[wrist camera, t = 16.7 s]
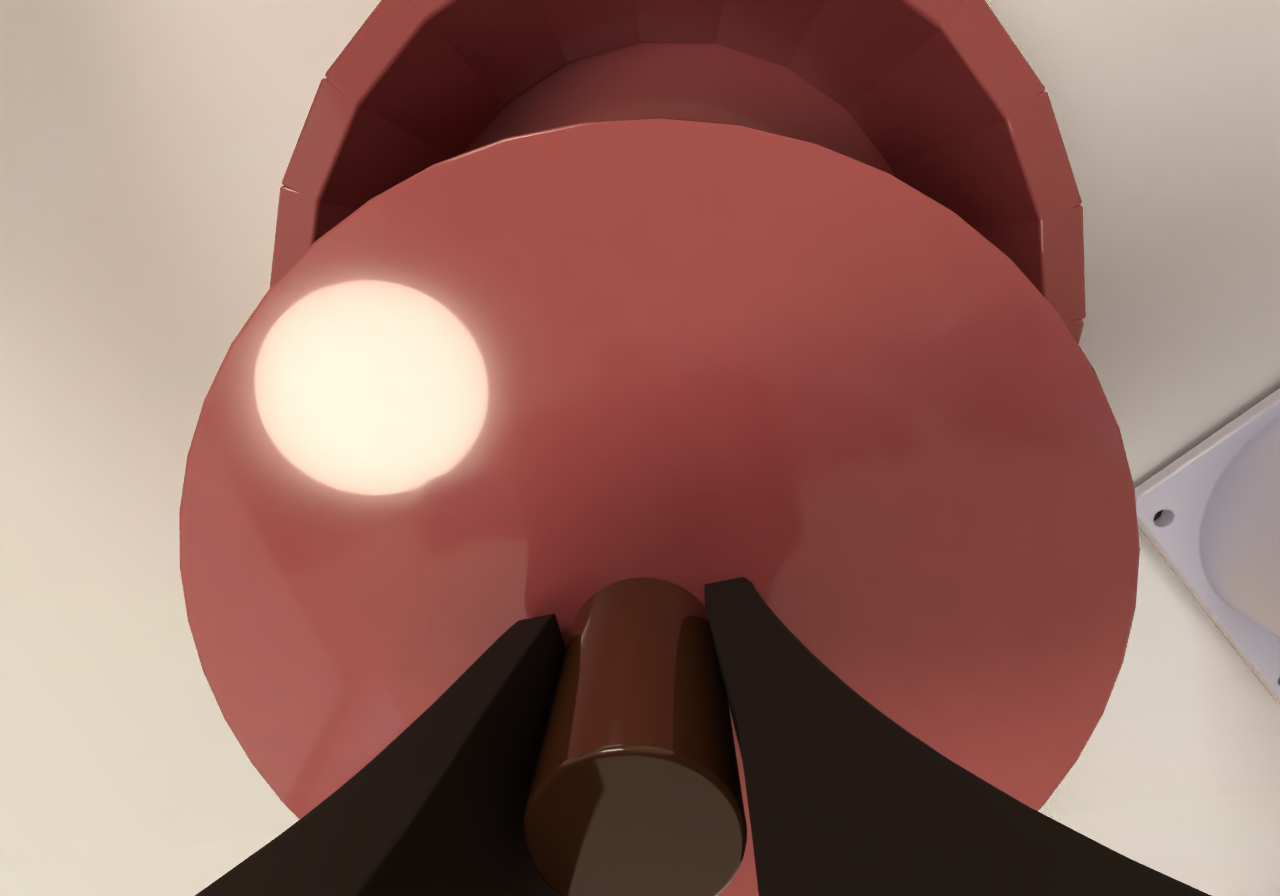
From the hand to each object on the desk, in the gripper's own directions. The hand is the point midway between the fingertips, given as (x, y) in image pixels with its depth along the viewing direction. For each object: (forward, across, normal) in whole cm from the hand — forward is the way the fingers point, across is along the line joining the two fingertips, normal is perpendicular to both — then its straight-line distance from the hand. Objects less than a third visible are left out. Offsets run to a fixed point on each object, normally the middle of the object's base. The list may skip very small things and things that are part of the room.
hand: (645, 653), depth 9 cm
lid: (+1, 0, 0) cm, 1 cm away
